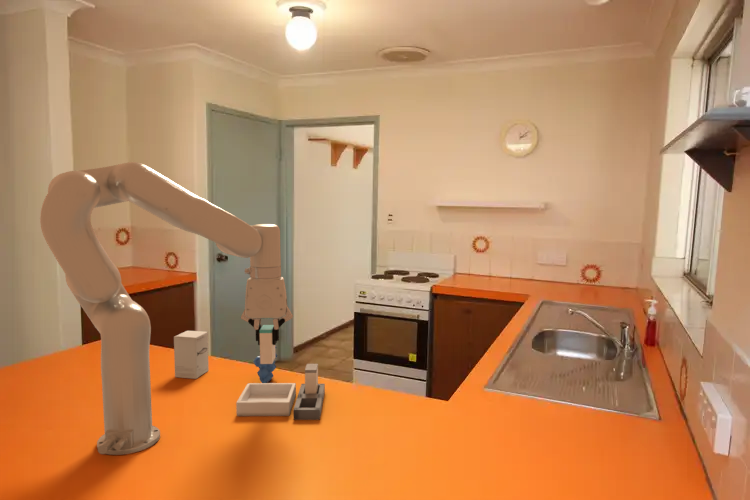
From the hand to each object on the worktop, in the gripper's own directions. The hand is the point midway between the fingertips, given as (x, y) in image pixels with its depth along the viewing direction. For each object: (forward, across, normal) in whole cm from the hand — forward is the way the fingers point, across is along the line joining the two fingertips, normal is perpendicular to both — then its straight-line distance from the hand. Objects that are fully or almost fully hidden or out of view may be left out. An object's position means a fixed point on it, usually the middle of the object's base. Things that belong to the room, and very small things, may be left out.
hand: (267, 342), depth 133 cm
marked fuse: (+5, 0, 0) cm, 5 cm away
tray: (+17, 0, 0) cm, 17 cm away
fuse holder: (+17, +11, 0) cm, 20 cm away
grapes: (+17, -4, +17) cm, 25 cm away
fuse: (+17, +11, +4) cm, 20 cm away
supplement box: (+17, -27, +23) cm, 40 cm away
